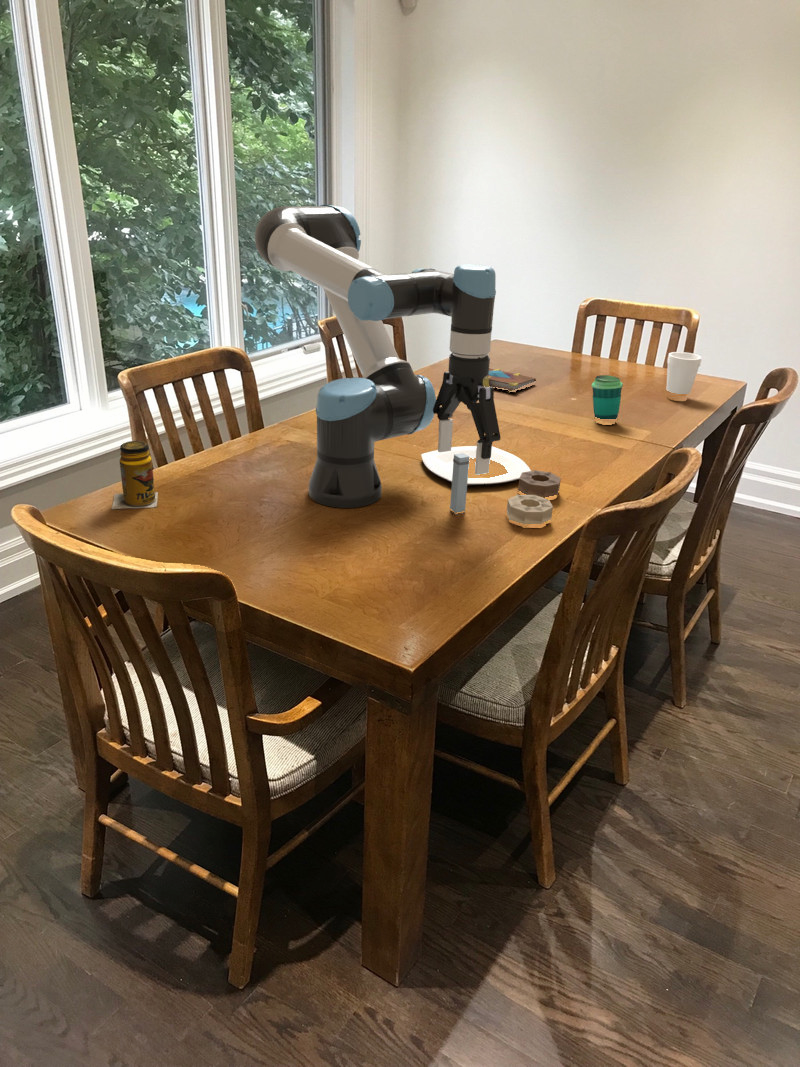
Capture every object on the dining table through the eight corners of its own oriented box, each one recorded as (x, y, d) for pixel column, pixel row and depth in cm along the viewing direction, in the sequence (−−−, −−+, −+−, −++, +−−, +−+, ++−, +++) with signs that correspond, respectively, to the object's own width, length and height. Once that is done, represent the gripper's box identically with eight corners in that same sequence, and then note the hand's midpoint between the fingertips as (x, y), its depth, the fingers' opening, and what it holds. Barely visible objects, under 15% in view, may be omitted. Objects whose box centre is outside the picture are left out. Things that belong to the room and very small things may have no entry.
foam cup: (696, 398, 248) (705, 355, 242) (688, 405, 240) (697, 361, 235) (665, 392, 252) (673, 350, 246) (656, 399, 245) (664, 356, 239)
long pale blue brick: (455, 514, 164) (459, 458, 159) (449, 510, 166) (453, 454, 160) (465, 512, 165) (469, 456, 160) (459, 508, 167) (463, 452, 161)
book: (469, 374, 267) (470, 359, 265) (536, 389, 254) (538, 373, 252) (441, 381, 255) (442, 365, 253) (511, 397, 242) (513, 380, 240)
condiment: (156, 507, 161) (151, 450, 156) (111, 510, 160) (104, 451, 154) (158, 493, 168) (152, 437, 163) (114, 495, 166) (107, 439, 161)
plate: (408, 459, 192) (408, 451, 191) (494, 449, 200) (495, 442, 200) (452, 496, 173) (452, 488, 172) (545, 484, 181) (546, 475, 181)
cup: (605, 428, 218) (612, 384, 212) (580, 420, 223) (586, 377, 218) (623, 423, 223) (630, 379, 217) (598, 415, 228) (604, 372, 223)
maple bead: (534, 532, 158) (536, 515, 156) (499, 519, 163) (500, 502, 161) (557, 520, 163) (559, 503, 162) (522, 507, 168) (524, 491, 167)
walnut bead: (534, 504, 170) (536, 488, 169) (511, 489, 177) (512, 474, 175) (565, 497, 174) (568, 482, 172) (542, 483, 180) (543, 468, 179)
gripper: (526, 367, 143) (515, 480, 152) (451, 338, 163) (445, 440, 172) (490, 371, 140) (481, 486, 149) (418, 341, 159) (414, 445, 169)
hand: (462, 462), depth 160 cm, fingers open, 13 cm apart
